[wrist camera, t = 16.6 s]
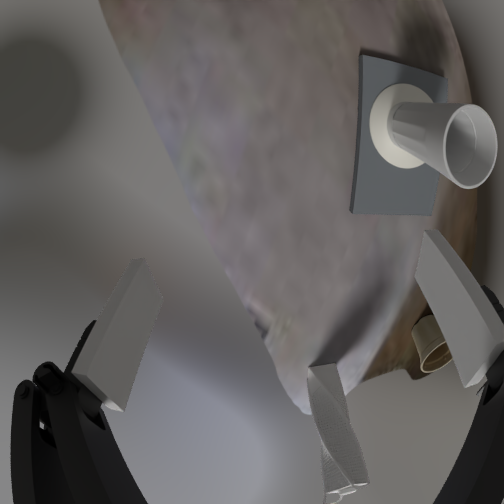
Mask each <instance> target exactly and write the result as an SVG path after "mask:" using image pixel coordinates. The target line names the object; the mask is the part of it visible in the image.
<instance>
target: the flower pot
mask: <svg viewBox="0 0 504 504" xmlns="http://www.w3.org/2000/svg"><path fill="white" fill-rule="evenodd" d="M412 336H413V339H414V341H415V344H416V347H417V350H418V353H419V356H420V362H421V370H422V371H423V372H426V373H428V372H433V371H436V370H438V369H440V368H442V367H443V366H445V365H446V364H448V363H449V362H450V361H451V360H452V359H453V357H452V355H451V352H450V350H449V347H448V345H447V343H446V340H445V338H444V336H443V334H442V331H441V329H440V327H439V325H438V323H437V320H436V318H435V316H434V315H428V316H425V317H423V318H421V319H420V320H419V322H418V323H417V324H416V325H414V327H413V329H412Z"/></svg>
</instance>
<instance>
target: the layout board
mask: <svg viewBox="0 0 504 504" xmlns="http://www.w3.org/2000/svg"><path fill="white" fill-rule="evenodd" d="M447 92H448V79H447V78H444V77H442V76H439V75H436V74H433V73H430V72H427V71H424V70H421V69H418V68H414V67H411V66H408V65H404V64H400V63H397V62H393V61H389V60H385V59H380V58H376V57H371V56H366V55H360V56H359V98H358V123H357V139H356V153H355V165H354V175H353V185H352V194H351V202H350V212H351V213H352V214H387V215H423V216H431V215H432V210H433V206H434V201H435V196H436V191H437V186H438V180H439V174H440V172H439V171H437V170H436V169H434V168H433V167H431V166H429V165H428V164H426V163H425V162H423V161H421V160H420V159H418V158H417V157H415V156H413V155H412V154H410V153H408V152H406V151H404V150H402V149H400V148H398V147H397V146H396V145H395V144H394V143H393V142H392V141H391V139H390V137H389V135H388V131H387V118H388V115H389V112H390V110H391V109H392V108H393V107H394V106H395V105H396V104H398V103H400V102H425V103H447Z"/></svg>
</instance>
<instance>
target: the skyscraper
mask: <svg viewBox="0 0 504 504" xmlns="http://www.w3.org/2000/svg"><path fill="white" fill-rule="evenodd" d="M308 369H309V371H308V380H307V388H308V395H309V401H310V407H311V411H312V416H313V419H314V423H315V426H316V429H317V431H318V434H319V436H320V438H321V469H322V480H323V489H324V500H323V504H326V503H325V502H326V493H339V496H341V497H340V498H339V500H338V501H336V502H334V503H331V504H338V503H339V502H340V501H341V499H342V497H343V495H346V494H350V493H353V492H356V489H358V488H364V487H367V486H368V485H369V483H370V482H369V477H368V473H367V469H366V465H365V461H364V458H363V454H362V451H361V448H360V445H359V442H358V440H357V437H356V435H355V433H354V430H353V428H352V426H351V424H350V419H349V413H348V408H347V403H346V399H345V395H344V391H343V387H342V384H341V380H340V377H339V373H338V370H337V367H336V363H332V364H326V365H320V366H314V367H308ZM364 484H366V485H364Z"/></svg>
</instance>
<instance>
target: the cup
mask: <svg viewBox="0 0 504 504" xmlns="http://www.w3.org/2000/svg"><path fill="white" fill-rule="evenodd" d="M387 131H388V135H389V137H390V139H391V141H392V142H393V143H394V144H395V145H396V146H397V147H398V148H400V149H402V150H404V151H406V152H408V153H410V154H412V155H413V156H415V157H417V158H418V159H420V160H421V161H423V162H425V163H426V164H428V165H429V166H431V167H433V168H434V169H436V170H437V171H439V172H440V173H441V174H443V175H444V176H446V177H447V178H449V179H450V180H451V181H453V182H454V183H455V184H457V185H458V186H460V187H462V188H466V189H472V188H475V187H477V186H479V185H481V184H482V183H483V182H484V181H485V180H486V179H487V178H488V176H489V175H490V173H491V171H492V169H493V167H494V164H495V161H496V155H497V135H496V131H495V127H494V125H493V122H492V120H491V119H490V117H489V115H488V114H487V113H486V112H485V111H484V110H483V109H482V108H481V107H479V106H477V105H474V104H460V103H425V102H400V103H398V104H396V105H395V106H394V107H393V108H392V109H391V110H390V112H389V115H388V118H387Z"/></svg>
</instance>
